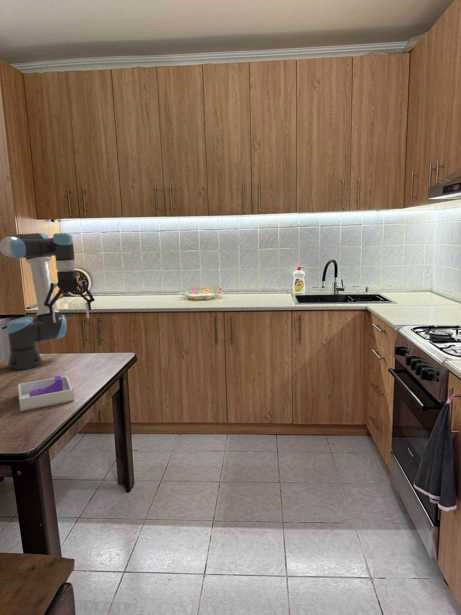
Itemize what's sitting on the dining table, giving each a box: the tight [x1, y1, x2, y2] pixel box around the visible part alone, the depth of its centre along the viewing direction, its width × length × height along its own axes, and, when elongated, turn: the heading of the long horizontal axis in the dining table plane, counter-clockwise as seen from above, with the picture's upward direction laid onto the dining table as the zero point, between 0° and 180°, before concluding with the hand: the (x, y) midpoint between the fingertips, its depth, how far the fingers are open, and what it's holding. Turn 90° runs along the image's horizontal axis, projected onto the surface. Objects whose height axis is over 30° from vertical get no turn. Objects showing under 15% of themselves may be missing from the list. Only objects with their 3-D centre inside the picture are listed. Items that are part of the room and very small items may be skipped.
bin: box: [17, 375, 75, 412], centre depth 174 cm, size 19×19×5 cm
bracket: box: [29, 375, 63, 397], centre depth 174 cm, size 12×7×7 cm, turn 116°
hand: (71, 320), depth 189 cm, fingers open, 13 cm apart
